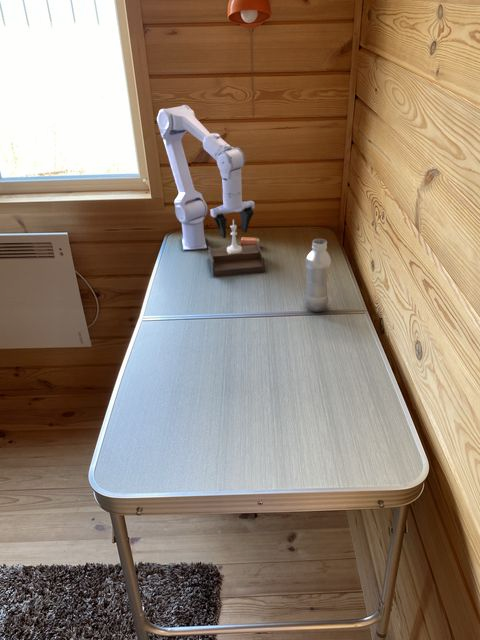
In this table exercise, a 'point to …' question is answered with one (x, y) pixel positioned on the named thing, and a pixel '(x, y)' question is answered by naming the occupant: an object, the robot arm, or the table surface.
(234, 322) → the table surface
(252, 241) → the spice pot
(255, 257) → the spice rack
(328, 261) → the plastic bottle
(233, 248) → the chess piece
